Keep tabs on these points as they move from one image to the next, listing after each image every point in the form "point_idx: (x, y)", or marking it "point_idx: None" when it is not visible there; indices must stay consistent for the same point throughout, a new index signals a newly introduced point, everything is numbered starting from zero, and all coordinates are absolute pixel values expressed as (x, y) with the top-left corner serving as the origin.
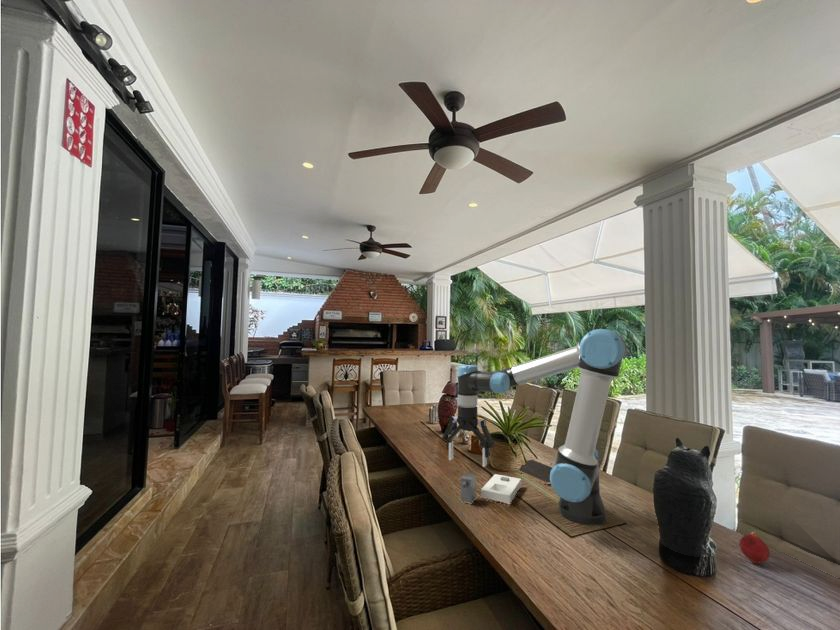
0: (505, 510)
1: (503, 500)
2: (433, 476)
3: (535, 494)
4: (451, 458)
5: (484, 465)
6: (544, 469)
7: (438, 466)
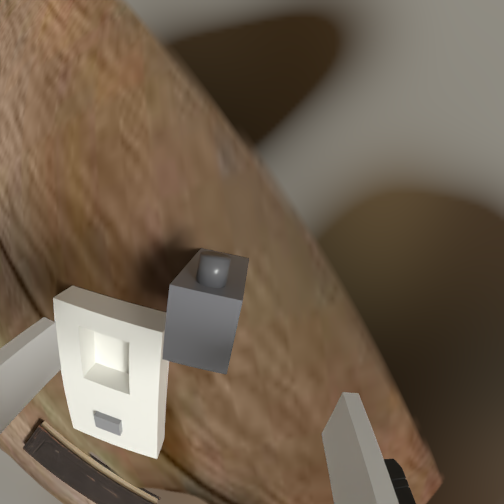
0: (77, 243)
1: (85, 296)
2: (384, 429)
3: None
4: (336, 415)
5: (37, 322)
6: (72, 478)
7: None
